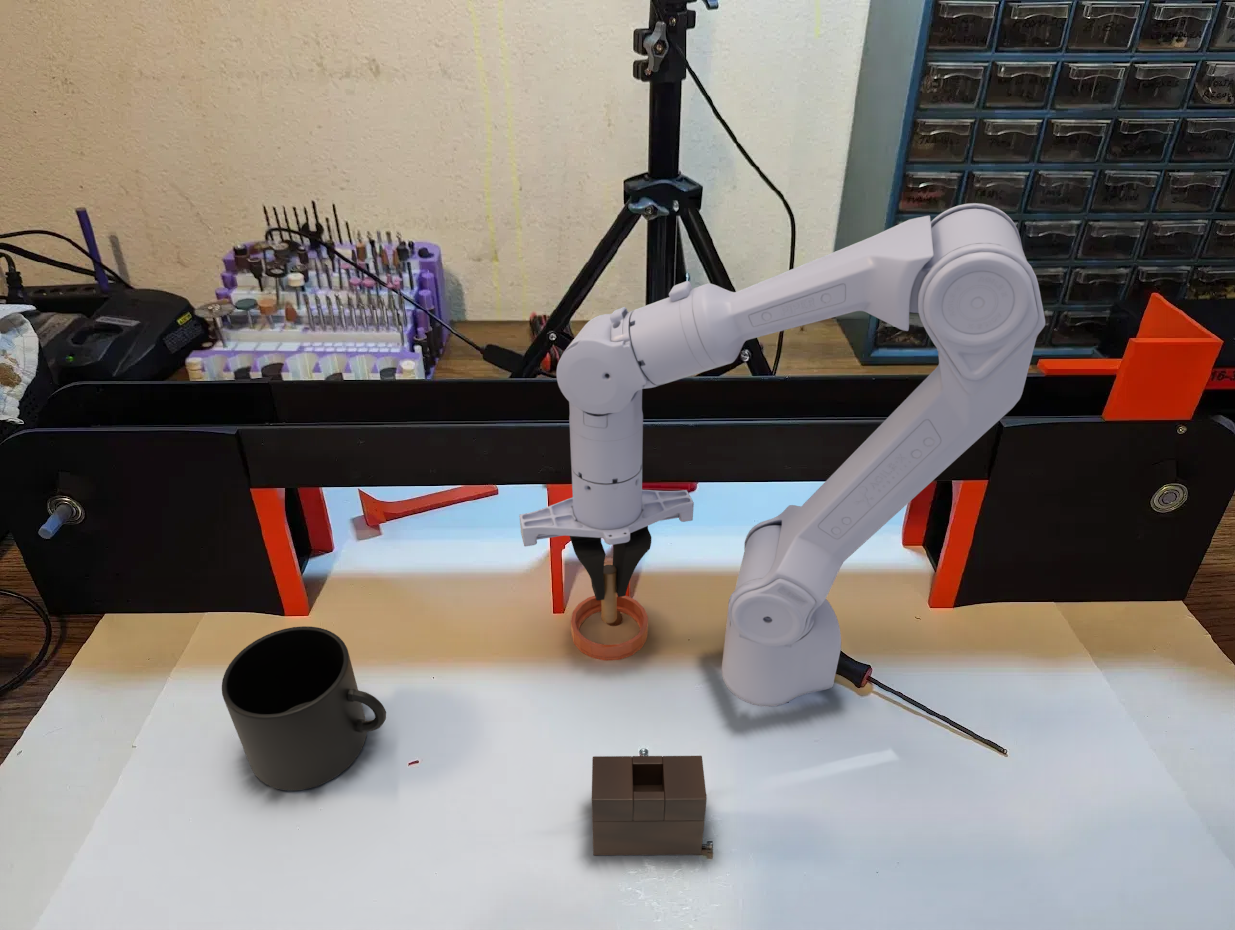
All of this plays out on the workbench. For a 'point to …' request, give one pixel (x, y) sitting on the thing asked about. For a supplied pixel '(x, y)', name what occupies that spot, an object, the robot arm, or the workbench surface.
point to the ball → (617, 620)
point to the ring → (614, 650)
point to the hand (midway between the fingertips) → (608, 591)
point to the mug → (298, 707)
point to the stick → (609, 594)
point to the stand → (648, 805)
